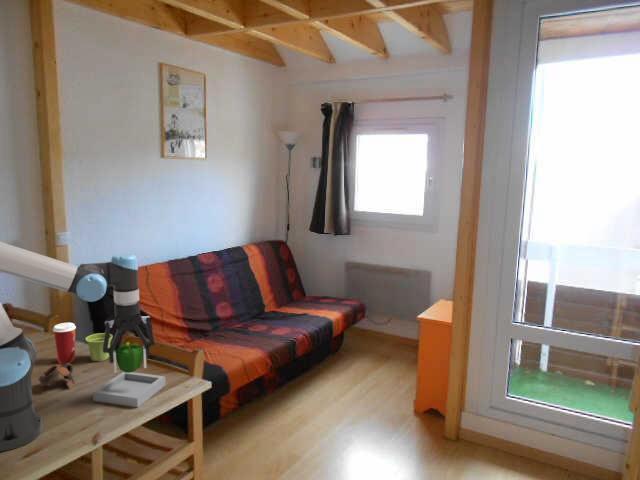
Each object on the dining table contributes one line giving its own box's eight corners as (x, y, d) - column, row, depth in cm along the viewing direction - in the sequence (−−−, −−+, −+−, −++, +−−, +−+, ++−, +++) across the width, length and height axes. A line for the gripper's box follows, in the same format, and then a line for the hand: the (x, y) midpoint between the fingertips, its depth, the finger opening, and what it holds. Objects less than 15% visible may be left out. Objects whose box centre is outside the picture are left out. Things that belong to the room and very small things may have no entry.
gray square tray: (137, 407, 147) (137, 398, 147) (93, 400, 151) (92, 391, 150) (165, 384, 162) (165, 376, 162) (124, 379, 166) (124, 371, 166)
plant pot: (108, 352, 190) (107, 331, 188) (117, 359, 183) (116, 337, 182) (83, 358, 183) (82, 336, 182) (92, 365, 176) (90, 343, 175)
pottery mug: (68, 394, 156) (51, 376, 153) (45, 403, 158) (29, 385, 155) (86, 370, 167) (71, 353, 164) (65, 379, 169) (50, 362, 166)
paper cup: (82, 359, 182) (79, 324, 180) (62, 366, 175) (59, 330, 173) (70, 354, 186) (68, 320, 184) (50, 361, 180) (48, 326, 177)
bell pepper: (126, 363, 160) (124, 335, 159) (148, 365, 158) (147, 337, 157) (110, 373, 152) (108, 344, 150) (133, 376, 150) (132, 346, 149)
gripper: (159, 295, 160) (162, 359, 163) (90, 302, 150) (94, 370, 154) (162, 301, 153) (165, 367, 157) (90, 309, 144) (95, 379, 147)
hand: (130, 368), depth 155 cm, fingers closed on bell pepper, 8 cm apart
